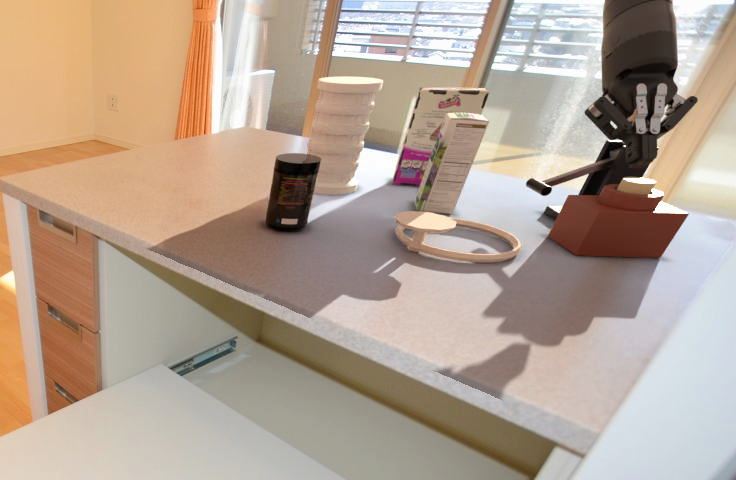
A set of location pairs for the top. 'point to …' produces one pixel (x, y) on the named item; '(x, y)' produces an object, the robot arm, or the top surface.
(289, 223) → the supplement container
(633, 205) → the box
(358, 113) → the decorative container
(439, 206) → the syrup box
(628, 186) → the button
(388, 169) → the top surface
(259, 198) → the top surface
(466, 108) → the candy bar box
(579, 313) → the top surface
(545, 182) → the lever
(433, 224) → the hand towel holder
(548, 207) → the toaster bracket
